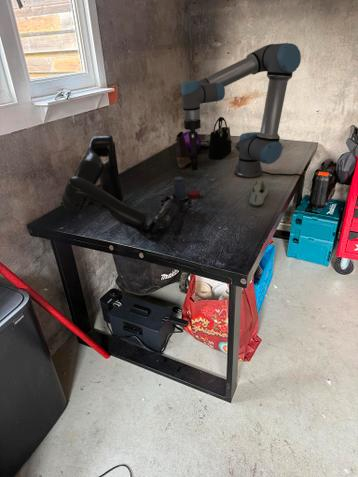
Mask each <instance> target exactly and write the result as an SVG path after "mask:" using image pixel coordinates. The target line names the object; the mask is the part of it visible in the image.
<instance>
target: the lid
mask: <svg viewBox="0 0 358 477" xmlns="http://www.w3.org/2000/svg"><path fill="white" fill-rule="evenodd" d="M188 194H189V195H190V197H191V199H193V200H194V199H198V198H200V191H198V190H190V191H188Z"/></svg>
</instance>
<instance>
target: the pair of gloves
mask: <svg viewBox="0 0 358 477" xmlns="http://www.w3.org/2000/svg"><path fill="white" fill-rule="evenodd" d="M232 143H233V140H231V144H232ZM209 145H210V135H208V134H205V135H204V139H201V145H200V148H205V147H208V148H209ZM200 148H199V149H200Z"/></svg>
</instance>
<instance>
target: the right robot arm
mask: <svg viewBox="0 0 358 477" xmlns="http://www.w3.org/2000/svg"><path fill="white" fill-rule="evenodd" d="M301 60H302V55H301V50H300V49H299V47H298V45H297V44H294V43H289V42H282V43H270V44H266V45H264V46H262V47H260V48H258V49H256V50H254V51H252V52H250V53H248V54H247V55H246V57H245V58H243V59H241V60H239V61H237V62H235V63H233V64H231V65H228V66H226V67H224V68H222V69H221V70H218V71H216V72H214V73H212V74H210V75H208V76H205V77H204V78H201V79H200V80H187V81H183V82H182V83H181V99H182V112H181V115H183V119H184V120H183V127H184V130H187V131H190V132H189V142H190V143H191V155H190V157H191V163H190V164H191V171H198V170H199V168H198V150H197V148H196V147H198V145H196V143H197V134H198V131H196V130H199V129H201V128H202V123H201V122H202V121H201V105H202V104H207V103H215V102H220V101H222V100H223V99H224V98H225V95H226V89H225V87H227V86H229V85H232V84H234V83H236V82H237V81H240V80H241V79H244V78H246V77H247V76H250V75H254V76H255V75H256V74H259V73H262V72H263V73H264V72H266V77H267V79H268V84H267V91H266V98H265V103H264V108H263V114H262V120H261V126H260V131H251V132H244V133H241V134H240V136H239V141H238V142H239V150H238V162H237V164H236V166H235V170H234V174H235V176H236V177H239V178H243V179H255V178H259V177H261V176H262V175H263V174H265V175H269V176H287V177H293V176H295V177H296V176H297V177H300V178H301V179H305V177H304V176H303V175H302V174H300V173H279V172H278V173H272V172H268V171H265V170H264V171H263V169H262V165H261V163H262V164H267V165H271V164H274V163H275V162H276V161H277V160H279V158H280V157H281V156H282V153H283V146H282V143H281V142H280V139H281V137H280V135H279V128H280V124H281V118H282V113H283V108H284V102H285V98H286V92H287V87H288V82H289V81H290V80H291V79H292V77H293V75H294V72H295V71H297V69H298V68H299V67H300V65H301ZM279 142H280V143H281V144H280V143H279Z"/></svg>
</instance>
